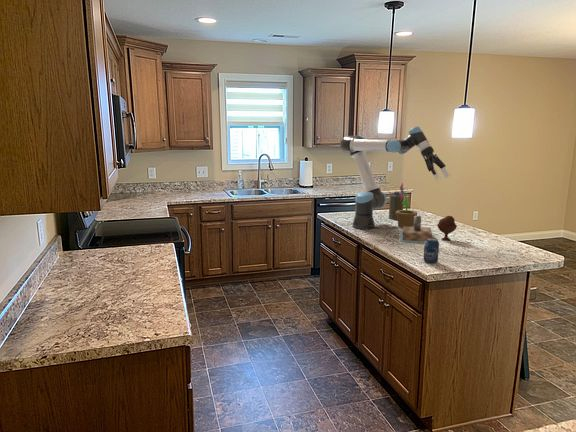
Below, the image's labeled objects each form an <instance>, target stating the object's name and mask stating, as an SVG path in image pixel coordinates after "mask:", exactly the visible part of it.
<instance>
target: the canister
mask: <svg viewBox="0 0 576 432" xmlns="http://www.w3.org/2000/svg"><path fill="white" fill-rule="evenodd" d="M400 192H401V191H393V194H389V200H388V201H389V205H388V220H393V221H398V218H397V215H396V211H398V210H404V205H403V204H402V203H403V202H404V198H405V196H404V194H403V198H402V200H401V201H400Z"/></svg>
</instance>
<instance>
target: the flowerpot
mask: <svg viewBox="0 0 576 432" xmlns="http://www.w3.org/2000/svg"><path fill="white" fill-rule="evenodd" d="M399 190H400V191H399V192H400V193H399V195H400V201H401V200H402V198H403V195H404V198H405V200H403V203H402V204H403V206H405V209H403V210H398V211H396V215H397V218H398V220H397V226H398V228H401V229H403V226H406V227H414V216H418V211H415V210H408V208H409V207H410V204H408V197H407V195H406V192H404V183H403V182H401V185H400V187H399Z"/></svg>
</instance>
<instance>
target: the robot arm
mask: <svg viewBox="0 0 576 432" xmlns="http://www.w3.org/2000/svg"><path fill="white" fill-rule="evenodd" d="M408 134H409V135H408V136H407V137H405V138H404V139H369V138H368V139H367V138H365V137H364V136H362V135H346V136H343V137H342V138H341V140H340V141H339V147H340V150H341V151H343V152H344V153H346V154H350V158H352V159H354V163H355V165H356V169H357V171H358V174H359V177H360V180H361V183H362V186H363V188H364V191H360V192H358V193H356V195H355V203H354V204H355V207H354V208H355V210H354V212H355V213H354V219H352V220H353V221H352V222H351V223H352V228H353V229H354V228H355V229H359V230H372V229H374V228H375V226H376V225H375V224H376V223H375V221H374V216H373V215H374V214H373V210H377V209H382V208H383V207H384V206H385V204H386V202H387V196H386V194H385V192H383V191H382V190H381V187H379V186H378V185H377V183H376V180H375V178H374V174H373V171H372V168H371V166H370V163H369V160H368V157H367V155H366V154H367V152H384V153H386V152H387V153H388V152H389V153H398V154H400V155H404V154H405V153H408V152H409V151H410V150H411V149H412V148H414V147H415V146H416V148H417V150H418V151H419V152H420V154H421V157H423V159H424V162H425V164H426V168H427V170H428V172H431V173H432V176H433V177H434V179H435V180H436V181H439V179H441V176H440V174H439V172H438V171H437V170H436V168H435V167H434V164H435V165H436V166H437V167H438V168H440V171H441V173H442V174H443V176H444V178H445V179H447V178H450V174H449V172H448V171H447V169H446V165H445V163H444V162H443V161H442V160H441V159H440V157H439V156H438V154H437V153H434V152H435V150H434V148H433V146H432V145H431V143H430V140H428V139H427V137H426V135H425V133H424V131H423V130H422V129H421V128H420V126H414V127H412V128H410V129H409V131H408Z"/></svg>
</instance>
